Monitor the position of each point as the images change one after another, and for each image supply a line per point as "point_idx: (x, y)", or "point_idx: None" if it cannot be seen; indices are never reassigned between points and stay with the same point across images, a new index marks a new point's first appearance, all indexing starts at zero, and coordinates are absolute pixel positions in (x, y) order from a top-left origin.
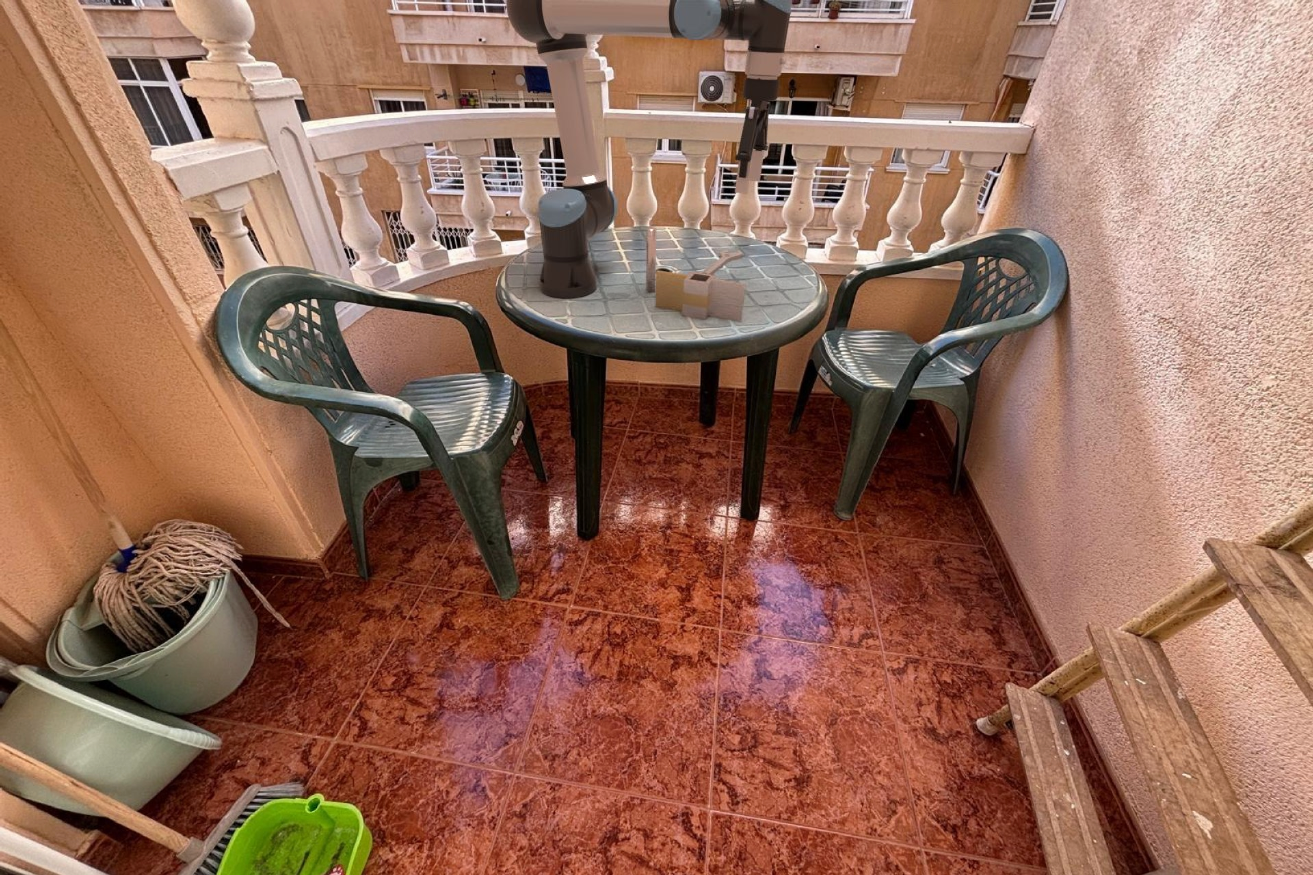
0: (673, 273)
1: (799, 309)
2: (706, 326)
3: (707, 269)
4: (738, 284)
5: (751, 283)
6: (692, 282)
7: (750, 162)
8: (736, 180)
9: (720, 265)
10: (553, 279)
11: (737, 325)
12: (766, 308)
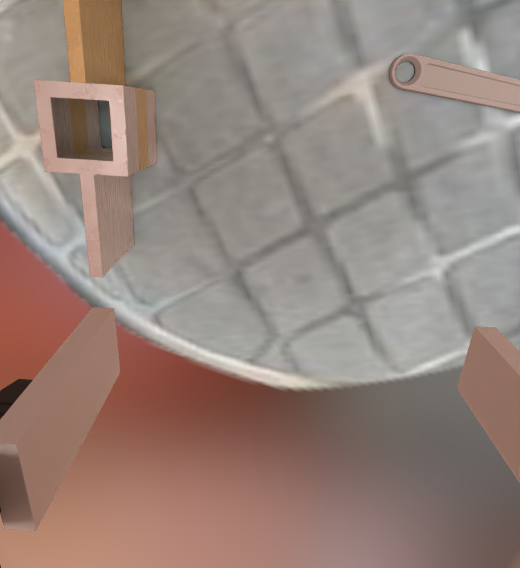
0: (73, 18)
1: (250, 356)
2: None
3: (459, 71)
4: (88, 258)
5: (387, 228)
6: (39, 113)
7: (7, 521)
8: (62, 345)
9: (506, 108)
10: None
11: None
12: (227, 289)
